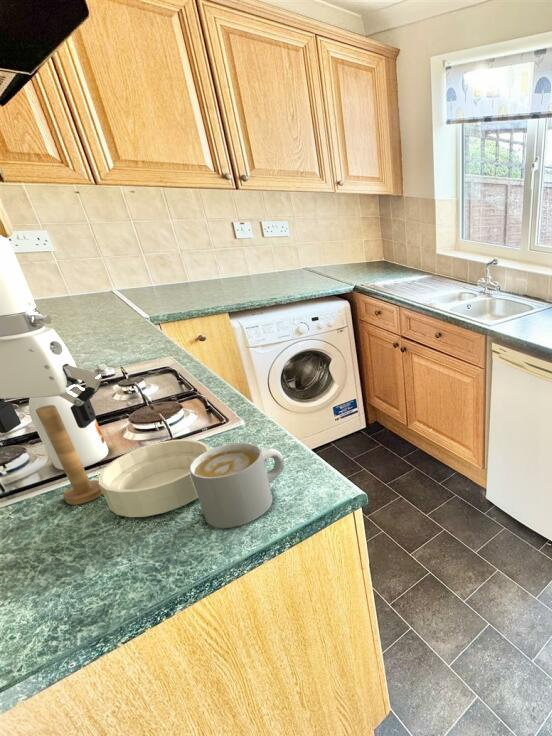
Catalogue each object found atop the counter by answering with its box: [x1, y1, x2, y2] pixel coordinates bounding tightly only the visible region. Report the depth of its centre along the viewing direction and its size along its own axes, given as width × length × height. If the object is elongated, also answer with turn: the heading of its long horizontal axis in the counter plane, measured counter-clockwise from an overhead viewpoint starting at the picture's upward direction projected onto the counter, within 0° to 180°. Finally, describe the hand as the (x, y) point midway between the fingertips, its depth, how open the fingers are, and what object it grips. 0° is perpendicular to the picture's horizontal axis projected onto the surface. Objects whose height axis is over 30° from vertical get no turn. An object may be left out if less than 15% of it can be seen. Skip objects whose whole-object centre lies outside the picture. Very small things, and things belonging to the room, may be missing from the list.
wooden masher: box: [36, 405, 103, 505], centre depth 69 cm, size 5×5×17 cm
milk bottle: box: [27, 391, 109, 471], centre depth 77 cm, size 8×8×20 cm
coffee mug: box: [190, 442, 285, 529], centre depth 71 cm, size 13×10×10 cm
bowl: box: [97, 438, 211, 518], centre depth 74 cm, size 15×15×6 cm
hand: (50, 426), depth 67 cm, fingers open, 9 cm apart
